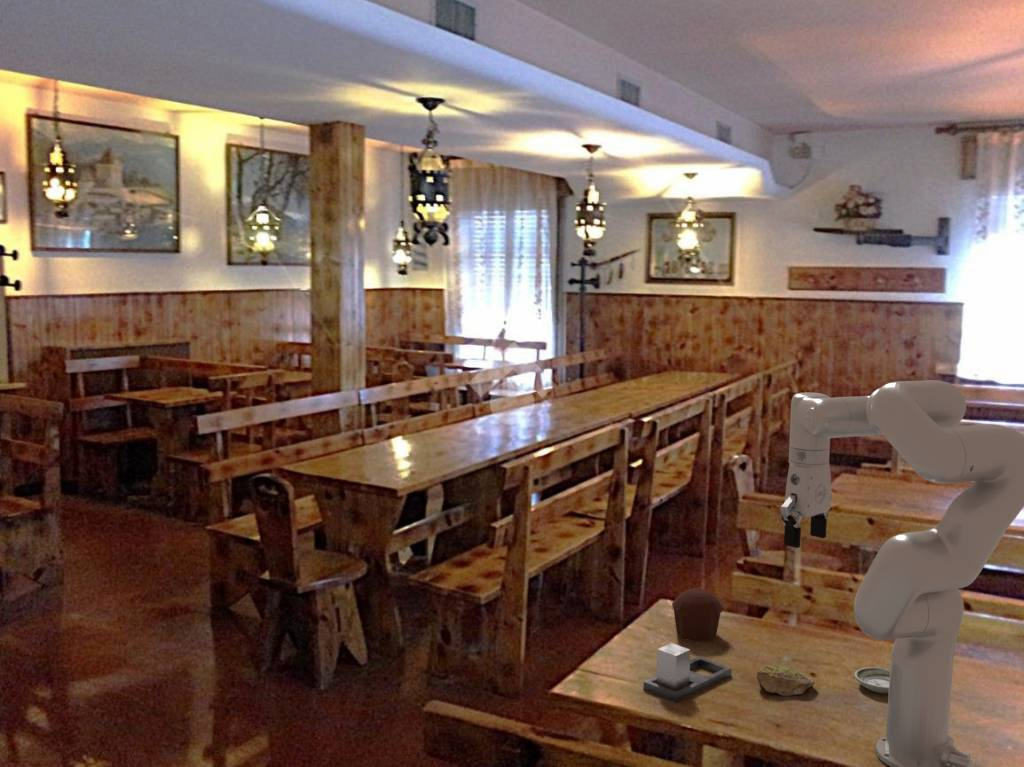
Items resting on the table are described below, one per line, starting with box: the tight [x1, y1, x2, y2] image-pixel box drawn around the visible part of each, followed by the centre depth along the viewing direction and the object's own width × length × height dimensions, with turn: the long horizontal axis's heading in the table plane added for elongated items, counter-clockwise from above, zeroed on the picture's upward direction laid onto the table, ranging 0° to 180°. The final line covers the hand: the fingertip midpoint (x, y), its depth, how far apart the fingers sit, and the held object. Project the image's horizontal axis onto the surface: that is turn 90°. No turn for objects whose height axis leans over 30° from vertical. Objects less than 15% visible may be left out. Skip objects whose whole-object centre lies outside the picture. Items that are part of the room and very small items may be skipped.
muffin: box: [671, 587, 724, 642], centre depth 215 cm, size 12×11×10 cm
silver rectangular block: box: [656, 642, 691, 692], centre depth 187 cm, size 4×4×8 cm
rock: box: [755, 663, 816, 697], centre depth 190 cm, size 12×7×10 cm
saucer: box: [853, 666, 890, 695], centre depth 189 cm, size 10×10×2 cm
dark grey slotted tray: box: [643, 656, 732, 703], centre depth 191 cm, size 8×18×2 cm, turn 133°
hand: (805, 541), depth 189 cm, fingers open, 9 cm apart
